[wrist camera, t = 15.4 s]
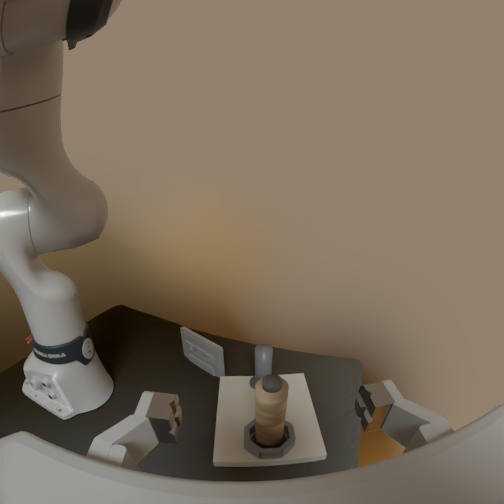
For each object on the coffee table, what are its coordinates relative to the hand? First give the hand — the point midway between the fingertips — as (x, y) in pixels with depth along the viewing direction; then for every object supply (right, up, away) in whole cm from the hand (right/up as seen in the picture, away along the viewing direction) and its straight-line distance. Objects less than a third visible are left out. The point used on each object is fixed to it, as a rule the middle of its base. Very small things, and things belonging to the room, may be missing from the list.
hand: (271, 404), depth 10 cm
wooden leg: (+2, -21, +22) cm, 31 cm away
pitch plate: (+1, -21, +29) cm, 36 cm away
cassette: (-11, -18, +43) cm, 48 cm away
